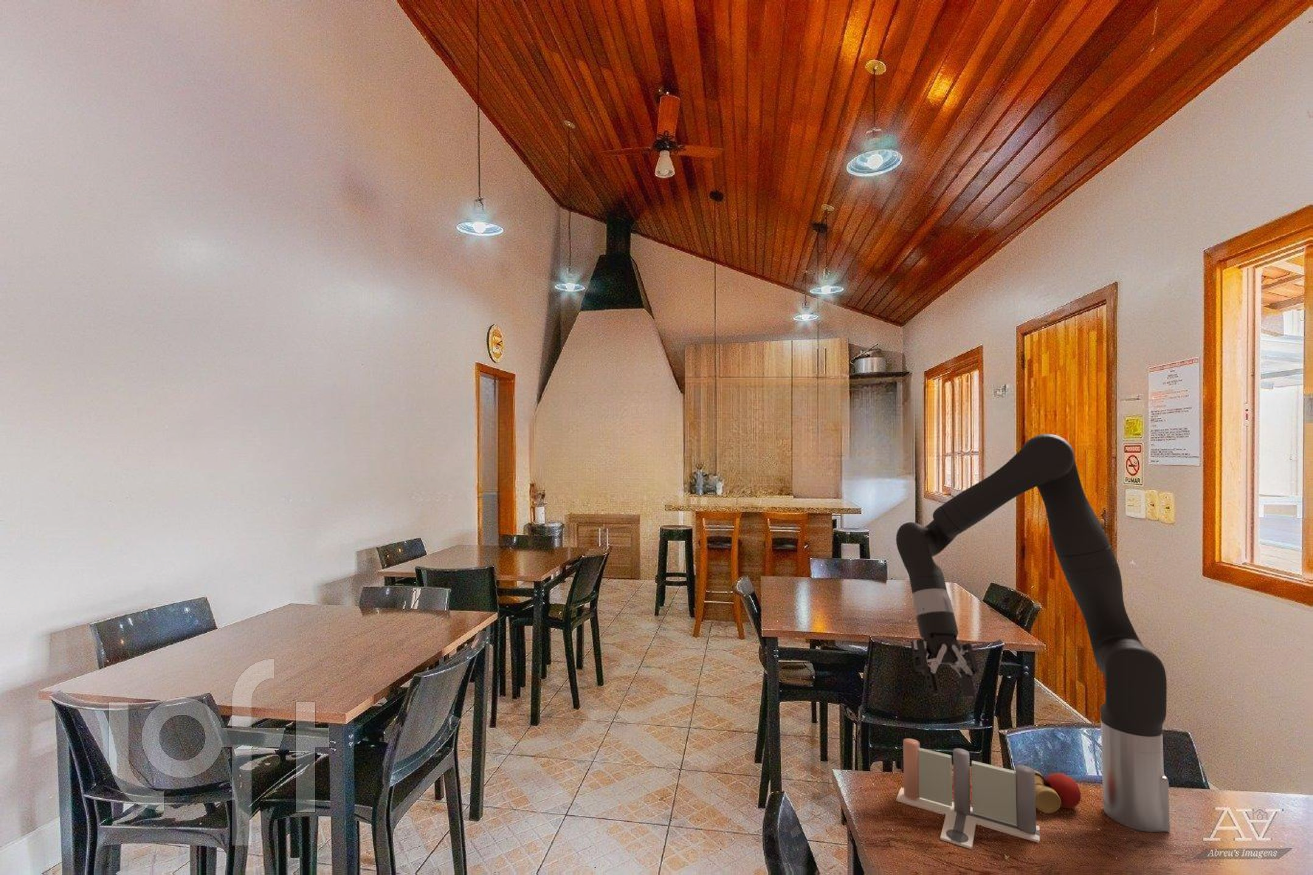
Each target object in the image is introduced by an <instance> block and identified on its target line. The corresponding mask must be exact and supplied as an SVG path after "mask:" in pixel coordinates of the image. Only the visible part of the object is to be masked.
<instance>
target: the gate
mask: <svg viewBox="0 0 1313 875" xmlns="http://www.w3.org/2000/svg"><path fill="white" fill-rule="evenodd" d="M902 741H903V742H902V743H903V745H902V746H903V750H902V751H903V752H902V753H903V756H902V757H903V788H904V795H905V796H907V797H908V798H911V799H919V798H923V799H927V800H930V801H934V802H937V803H941V804H944V805H948V806H952V802H953V780H952V779H953V777H952V776H953V772H952V771H953V768H952V763H953V760H952V755H951V754H946V753H943V752H939V751H934V750H931V749H927V748H922V747H920V741H918V740H916V739H914V738H904V739H903V740H902Z"/></svg>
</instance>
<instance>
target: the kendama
mask: <svg viewBox="0 0 1313 875" xmlns="http://www.w3.org/2000/svg"><path fill="white" fill-rule="evenodd" d="M1033 770H1034V771H1035V800H1036V808H1037V809H1036V810H1038V811H1040V812H1042V813H1045V814H1053V813H1056V812H1058V810H1059V809H1060V808H1063V809H1073V808H1075V807H1077V806H1078V805H1079V803H1080V802H1081V800H1082V795H1081V794H1082V793H1081V789H1080V787H1079V785H1078V784H1077V782H1076V781H1075V779H1073V778H1071V777H1070V776H1069V775H1067V774H1064V773H1061V772H1057V773H1051V774H1049V775H1048V776H1047V777H1046V778H1045V777H1044V776H1043V775H1042V774H1041V772H1039V771H1038V770H1035V769H1033Z"/></svg>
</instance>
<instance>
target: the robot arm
mask: <svg viewBox="0 0 1313 875" xmlns="http://www.w3.org/2000/svg"><path fill="white" fill-rule="evenodd" d="M1076 462H1077V461H1076V458H1075V452H1074V449H1073V446H1072V445H1071V444H1070V442H1069V441H1068V440H1066V439H1065V438H1063V437H1061V435H1057V434H1053V433H1043V434H1038V435H1035V436H1033V437H1031V438H1030V439H1028V440H1026V442H1025V443H1024V444H1023V445H1022V447H1021V449H1020V450H1019V451H1017V453H1016V454H1014V455H1013V456H1012V457H1011V458H1010V459H1009V460H1008V461H1007V462H1006V463H1005V464H1003V465H1002V466H1001V467H1000V468H998V469H997V470H996V471H994V472H993V473H991V474H990V475H989V476H987V477H986V478H984V479H982V480H980V481H978V482H977V483H975V484H973V485H971V486H970V487H968V488H966V489H965V490H962V491H961V492H959V493H958V494H956V495H955V496H954V497H951V498H950V499H948V500H947V501H945V502H944V503H942V504H941V505H940V506H938V507H937V508H936V509H935V510H934V511H933V513H932V518H933V520H931V521H930V522H929V523H928V524H927V525H925V526H924V525H921V524H920V523H917V522H911V521H909V522H905V523H903V524H902V525H900V527H899V528H898V529H897V532H896V535H895V536H896V537H895V540H896V548H897V551H898V553H899V557H900V558H901V561H902V562H903V565H904V568H905V570H906V572H907V574H908V577H909V584H910V588H911V593H912V601H913V603H912V604H913V607H914V608H913V609H914V614H915V618H916V623H917V627H918V633H919V636H920V638H918V639H915V640H912V641H910V647H911V653H912V659H913V666H914V670H915V671H916V672H920V673H922V674H923V675H924V678H925V681H926V686H927V691H928V692H929V694H930V695H931V696H938V695H941V693H942V692H941V688H940V683H939V678H938V674H936V673H937V670H938V667H939V666H940V665H942V664H943V665H948V666H950V667H951V668H952V669H953V670H955V671H956V673H957V675H958V676H959V677H960V678H959V682H960V686H961V689H962V693H963V696H964V697H965V698H973V697H975V694H976V690H975V686H974V682H973V679H972V678H973V675H975V674H978V673H980V670H979V666H978V663H977V661H976V660H977V659H976V657H975V656H976V655H975V653H974V650H973V646H972V645H971V643H969V642H968V643H962V644H960V643H959V641H958V639H957V638H958V635H959V630H958V625H957V622H956V621H957V620H956V616H955V612H954V609H953V608H954V607H953V605H952V600H951V597H950V595H949V593H948V589H947V585H946V581H945V577H944V573H943V571H942V569H941V567H940V566H939V565H938V564H937V563H936V562H935V561H934V558H933V557H935V556H937V555H938V554H940V553H941V552H943V551H944V549H946V548H947V547H948V545H950V544H951V543H952V542H953V541H954V540H955V538H956V537H957V536H958V535H960V534H962V533H964V532H965V531H967V530H968V529H970V528H972V527H973V526H974V525H976V524H978V523H980V521H982V520H984V519H985V518H987V517H988V516H989V515H991V514H993V513H994V512H995V511H997V510H998V509H999V508H1001V507H1002V506H1004V505H1005V504H1007V503H1008V502H1009V501H1011V500H1013V499H1015V498H1016V497H1018V496H1020V495H1022V494H1024V493H1026V492H1028V491H1030V490H1032V489H1034V488H1037V490H1038V493H1039V494H1040V496H1041V499H1042V501H1043V503H1044V508H1045V511H1046V516H1047V522H1048V528H1049V532H1050V537H1051V540H1052V545H1053V547H1054V548H1053V549H1054V552H1055V554H1056V558H1057V559H1058V562H1059V565H1060V567H1061V570H1062V573H1063V574H1064V577H1065V580H1066V581H1067V584H1068V586H1069V589H1070V591H1071V593H1072V596H1073V597H1074V600H1075V601H1076V604H1077V605H1078V607H1079V609H1080V612H1081V614H1082V617H1083V619H1084V623H1085V625H1086V630H1087V634H1088V638H1089V642H1090V645H1091V650H1092V653H1093V657H1094V661H1095V663H1096V666H1097V668H1098V669H1099V671H1100V672H1101V674H1102V675H1103V676H1104V677H1105V702H1104V703H1103V704H1101V706H1100V731H1101V732H1100V735H1101V736H1100V737H1101V738H1100V739H1101V740H1100V741H1101V771H1102V772H1101V774H1102V775H1101V776H1102V807H1103V812H1104V813H1105V814H1106V816H1108V817H1109V818H1110V819H1112V820H1113V821H1115V822H1117V823H1118V824H1121V825H1123V826H1124V827H1128V828H1131V829H1133V830H1137V831H1141V832H1147V833H1159V832H1168V833H1170V832H1171V821H1170V818H1171V816H1170V792H1169V791H1170V789H1169V788H1170V787H1169V786H1170V785H1169V778H1168V777H1167V776H1166V775H1165V772H1164V744H1163V743H1164V742H1163V741H1164V740H1163V739H1164V738H1163V725H1164V722H1165V721H1166V717H1167V704H1168V703H1167V702H1168V701H1167V698H1168V697H1167V695H1168V694H1167V692H1168V691H1167V689H1168V687H1167V672H1166V670H1165V665H1164V663H1163V661H1162V660H1161V659H1160V657H1158V656H1157V655H1156V654H1155V652H1153V651H1152V650H1150V649H1149V648H1148V647H1146V646H1145V645H1144V644H1143V643H1142V642H1141V639H1140V638H1139V636H1138V635H1137V631H1136V630H1135V628H1134V627H1133V624H1132V622H1131V620H1130V618H1129V615H1128V613H1127V610H1126V606H1125V602H1124V592H1123V580H1122V574H1121V570H1120V566H1119V563H1118V561H1117V558H1116V556H1115V553H1114V550H1113V547H1112V545H1111V543H1110V541H1109V538H1108V536H1107V534H1106V532H1105V530H1104V528H1103V526H1102V524H1101V522H1100V520H1099V518H1098V516H1097V515H1096V513H1095V510H1094V509H1093V507H1092V506H1091V504H1090V502H1089V500H1088V498H1087V496H1086V494H1085V491H1084V488H1083V485H1082V482H1081V479H1080V478H1081V477H1080V474H1079V471H1078V468H1077V463H1076Z"/></svg>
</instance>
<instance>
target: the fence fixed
mask: <svg viewBox="0 0 1313 875" xmlns="http://www.w3.org/2000/svg"><path fill="white" fill-rule="evenodd" d="M952 751H953V752H952V759H953V760H952V763H953V768H952V771H953V802H954V810H955V812H957V813H959V814H961V815H966V816H967V815H969V814H970V807H972V813H976V814H979V815H983V816H986V817H990V818H993V819H997V820H1000V821H1004V822H1007V823H1011V824H1014V825H1017V826H1018V828H1020V829H1021V830H1023V831H1026V832H1036V825H1037V813H1036V812H1037V811H1036V810H1037V809H1036V808H1037V807H1036V800H1035V771H1034V770H1035V769H1033V768H1032V767H1030V766H1027V765H1022V764H1018V765H1016V766H1015V770H1012V769H1008V768H1005V767H1004V768H1003V767H1000V766H997V765H993V764H992V765H991V764H988V763H983V762H980V761H975V760H971V763H970V752H969V751H968V750H966V749H964V748H953V749H952ZM970 764H971V767H970ZM970 770H971V771H970ZM970 772H971V773H970ZM971 801H972V803H971ZM971 805H972V806H971Z"/></svg>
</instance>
